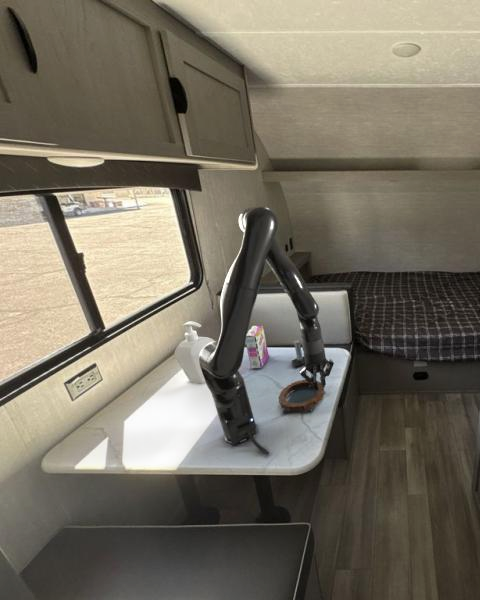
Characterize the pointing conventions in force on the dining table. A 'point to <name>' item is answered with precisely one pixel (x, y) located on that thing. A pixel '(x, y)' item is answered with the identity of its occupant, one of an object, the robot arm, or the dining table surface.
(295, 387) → the ring
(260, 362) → the candy bar box
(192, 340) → the soap bottle
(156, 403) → the dining table surface
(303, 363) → the stand
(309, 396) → the mat
